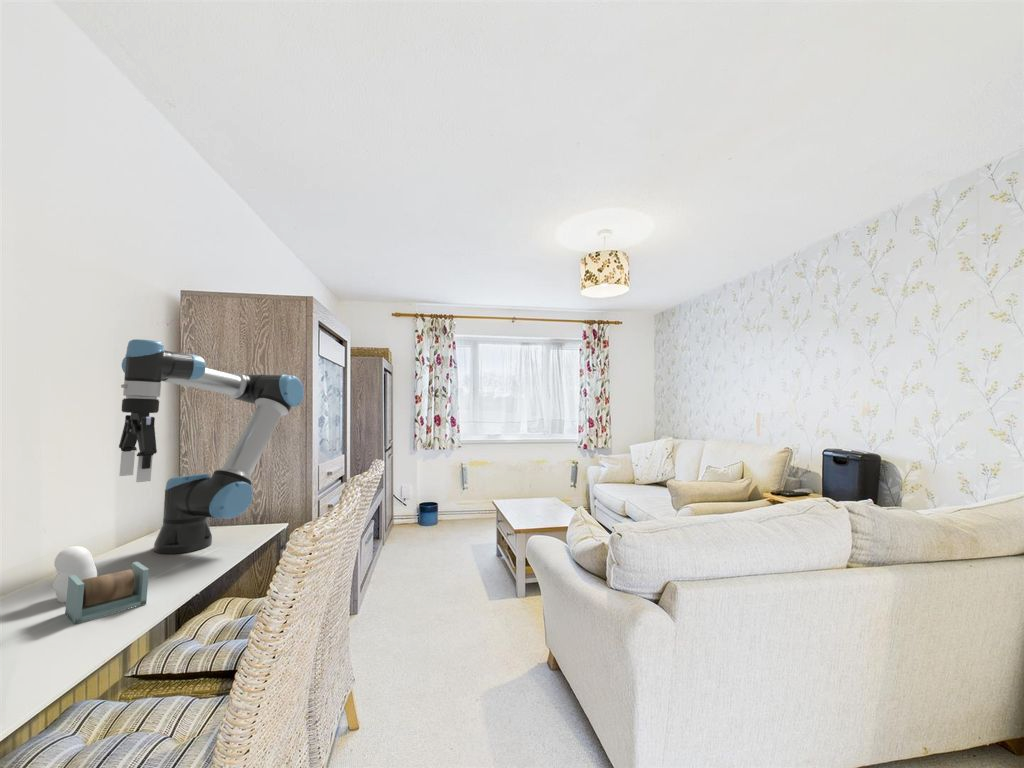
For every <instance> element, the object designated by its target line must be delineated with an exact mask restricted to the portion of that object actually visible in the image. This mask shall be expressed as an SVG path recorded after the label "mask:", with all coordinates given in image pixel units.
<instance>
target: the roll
mask: <svg viewBox="0 0 1024 768" xmlns="http://www.w3.org/2000/svg"><path fill="white" fill-rule="evenodd" d="M82 582H83V583H84V594H83V605H82V608H86V607H90V606H94V605H97V604H101V603H105V602H109V601H113V600H117V599H121V598H125V597H128V596H131V595H132V594H133V590H134V575H133V572H132V568H131V569H130V568H129V569H124V570H121V571H117V572H111V573H108V574H102V575H97V577H93V578H88V579H83V580H82Z"/></svg>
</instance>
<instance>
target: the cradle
mask: <svg viewBox="0 0 1024 768" xmlns="http://www.w3.org/2000/svg"><path fill="white" fill-rule="evenodd" d="M131 570H132V572H133V575H134V590H133V594H132V595H131V596H128V597H125V598H121V599H117V600H113V601H109V602H105V603H101V604H97V605H94V606H90V607H86V608H82V605H83V594H84V583H83V582H82V581H81V580H80V579H79V578H78V577H77V576H76V575H71V576H69V578H68V589H67V599H66V603H65V610H64V611H65V613H64V614H67V615H68V616H67V615H66V616H67V617H68V618H69V620H70V619H71V620H70V621H71V622H72V623H73V625H76V624H80V623H83V622H87V621H91V620H94V619H98V617H99V618H102V617H106V616H108V615H112V613H113V614H116V613H115V612H117V613H119V612H118V611H120V612H122V611H121V610H124V609H128V608H131V607H135V606H138V607H140V606H139V605H142V606H144V605H143V604H146V605H147V601H148V599H147V596H148V589H149V588H148V586H149V574H150V573H149V572H150V569H149V568H148V567H146V566H145V565H144V564H142V563H141V562H139V561H134V562H132V564H131ZM135 608H136V607H135ZM131 609H132V608H131ZM128 610H129V609H128ZM124 611H125V610H124ZM105 615H106V616H105ZM101 616H102V617H101Z"/></svg>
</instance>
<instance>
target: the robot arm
mask: <svg viewBox="0 0 1024 768" xmlns="http://www.w3.org/2000/svg"><path fill="white" fill-rule="evenodd" d="M206 366H207V364H206V361H205V359H204V358H203V357H202V356H200V355H198V354H193V353H184V352H177V351H168V350H165V344H164V343H163V342H161V341H158V340H151V339H131V340H129V341H128V343H127V347H126V353H125V356H124V358H123V359H122V362H121V369H122V371H123V373H124V382H123V383H124V384H121V385H120V386H121V389H123V394H122V395H123V396H124V397H125V398H122V401H121V412H122V413H130V414H129V415H127V414H126V415H125V416H124V417H125V419H124V425H123V429H122V433H121V437H120V441H119V444H118V448H119V449H120V450H121V451H120V452H121V453H120V465H119V477H124V476H126V477H127V476H134V468H135V457H138V458H137V468H136V469H137V470H136V477H135V478H136V480H135V482H136V483H143V482H145V483H146V482H151V480H152V469H153V458H154V454H155V455H156V454H157V453H158V450H157V442H156V441H157V439H156V430H155V429H156V428H155V422H156V421H155V420H156V418H155V417H154V416H150V414H157V413H159V408H160V400H159V399H158V398H160V397H161V390H162V389H161V388H162V382H163V383H169V384H173V385H174V384H175V385H179V386H183V387H184V386H185V387H188V388H193V389H197V390H201V391H202V390H204V391H208V392H213V393H218V394H222V395H225V396H226V397H227V398H229V399H233V400H237V401H241V402H246V403H248V404H253V405H255V406H256V408H255V409H254V411H253V412H252V413H253V414H252V415H251V417H250V418H249V421H248V422H247V424H246V426H245V427H244V430H243V431H242V433H241V434H240V436H239V438H238V440H237V442H236V444H235V445H234V447H233V449H232V450H231V452H230V454H229V456H228V457H227V459H226V461H225V463H224V465H222V467H220V468H218V469H215V470H214V471H213V473H212V475H211V474H210V473H200V474H199V473H198V474H190V475H189V474H188V475H181V476H175V477H171V478H168V480H167V481H166V484H165V489H164V503H163V504H164V505H163V520H162V525H161V528H160V530H159V532H158V534H157V536H156V539H155V541H154V544H153V552H155V553H157V554H165V555H166V554H167V555H169V554H170V555H171V554H173V555H174V554H182V553H183V554H185V553H189V552H194V551H198V550H203V549H205V548H207V547H209V546H211V545H212V544H213V535H212V532H211V528H210V525H209V522H208V518H213V519H216V520H223V519H226V520H227V519H228V520H229V519H230V520H231V519H234V518H237V517H239V516H241V515H243V513H244V512H246V511H247V510H248V508H249V507H250V505H251V504H252V501H253V497H254V495H253V493H254V490H253V488H252V484H253V479H252V478H251V475H252V474H253V471H254V470H255V468H256V465H257V464H258V462H259V460H260V458H261V457H262V455H263V453H264V450H265V449H266V446H267V444H268V443H269V441H270V439H271V437H272V435H273V434H274V431H275V430H276V428H277V426H278V424H279V422H280V420H281V418H283V417H285V416H287V415H289V413H290V410H291V409H292V408H293V407H297V406H300V405H301V403H303V400H304V398H305V396H304V395H305V390H304V385H303V383H302V381H301V380H300V379H299V378H298V377H297V376H295V375H289V374H244V373H240V372H234V373H229V372H225V371H222V370H217V369H214V368H210V367H206ZM136 445H138V448H137V446H136ZM137 449H138V450H139V452H137ZM136 452H137V453H136ZM135 455H136V456H135Z"/></svg>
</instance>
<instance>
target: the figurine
mask: <svg viewBox="0 0 1024 768" xmlns="http://www.w3.org/2000/svg"><path fill="white" fill-rule="evenodd" d="M54 568H55V570H56V572H57V575H56V577H55V579H54V581H53V582H52V589H53V591H54V592H55V596H56V599H57V601H58V602H59V603H63V602H66V599H67V589H68V578H69V576H71V575H76V576H77V577H78V578H79V579H80V580H81V581H82V580H83V579H88V578H93V577H97V576H98V571H97V570H98V569H97V567H96V564H95V562H94V558H93V555H92V553H91V552H90V550H88V549H87V548H86V547H84V546H69V547H66V548H64V549H63V550H61V551H60V552H59V553H57V555H56V557H55V558H54Z"/></svg>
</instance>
